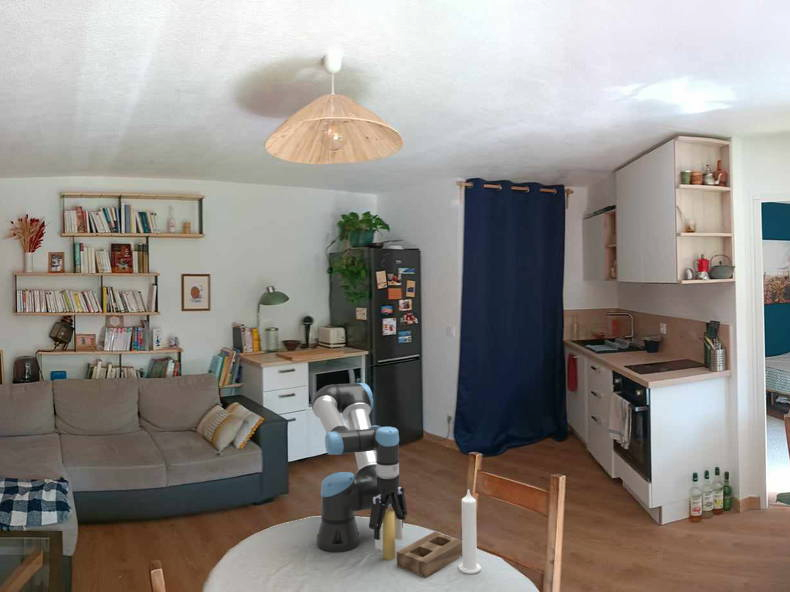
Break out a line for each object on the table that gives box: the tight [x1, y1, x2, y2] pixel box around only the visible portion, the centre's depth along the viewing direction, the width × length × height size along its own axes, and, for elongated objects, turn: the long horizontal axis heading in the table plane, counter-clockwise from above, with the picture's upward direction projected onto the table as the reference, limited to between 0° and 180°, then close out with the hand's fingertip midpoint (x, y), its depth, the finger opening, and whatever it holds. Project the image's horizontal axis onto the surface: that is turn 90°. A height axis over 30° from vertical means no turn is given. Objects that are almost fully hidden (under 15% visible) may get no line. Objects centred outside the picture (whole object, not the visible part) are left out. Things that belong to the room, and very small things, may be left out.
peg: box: [382, 508, 396, 561], centre depth 189 cm, size 4×4×15 cm
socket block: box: [396, 531, 462, 579], centre depth 186 cm, size 12×20×4 cm, turn 139°
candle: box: [457, 489, 482, 575], centre depth 180 cm, size 7×7×25 cm
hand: (388, 543), depth 189 cm, fingers open, 9 cm apart
